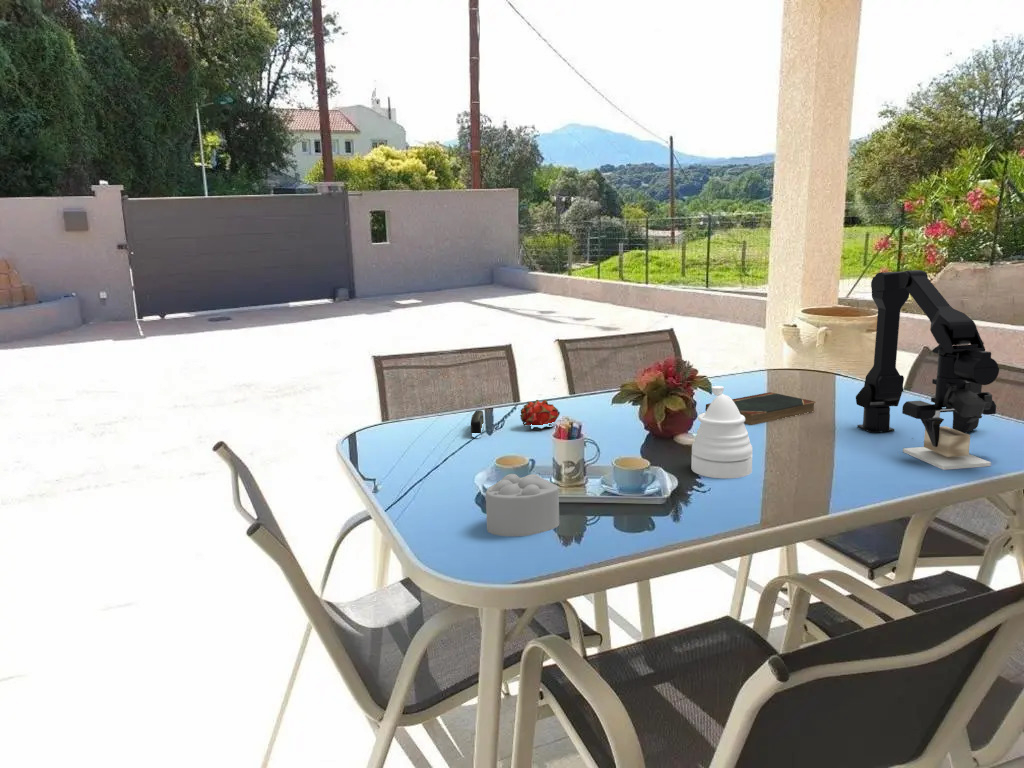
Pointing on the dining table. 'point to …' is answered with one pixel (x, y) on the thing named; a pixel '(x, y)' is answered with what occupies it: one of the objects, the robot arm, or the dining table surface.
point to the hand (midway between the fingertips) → (946, 445)
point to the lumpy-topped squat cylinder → (522, 506)
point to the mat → (946, 459)
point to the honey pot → (722, 441)
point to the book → (770, 407)
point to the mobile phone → (477, 421)
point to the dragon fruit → (539, 413)
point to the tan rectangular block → (949, 442)
